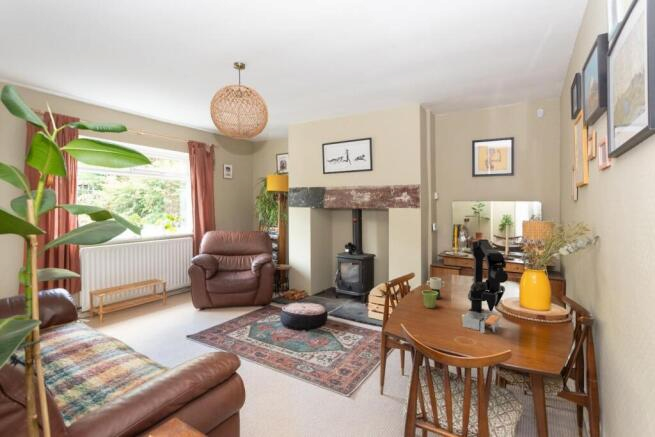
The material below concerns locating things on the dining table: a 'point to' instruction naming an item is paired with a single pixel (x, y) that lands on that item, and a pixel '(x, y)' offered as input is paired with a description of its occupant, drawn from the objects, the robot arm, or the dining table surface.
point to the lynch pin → (481, 320)
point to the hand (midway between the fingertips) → (493, 308)
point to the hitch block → (477, 321)
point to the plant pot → (429, 298)
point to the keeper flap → (491, 319)
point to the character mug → (435, 285)
